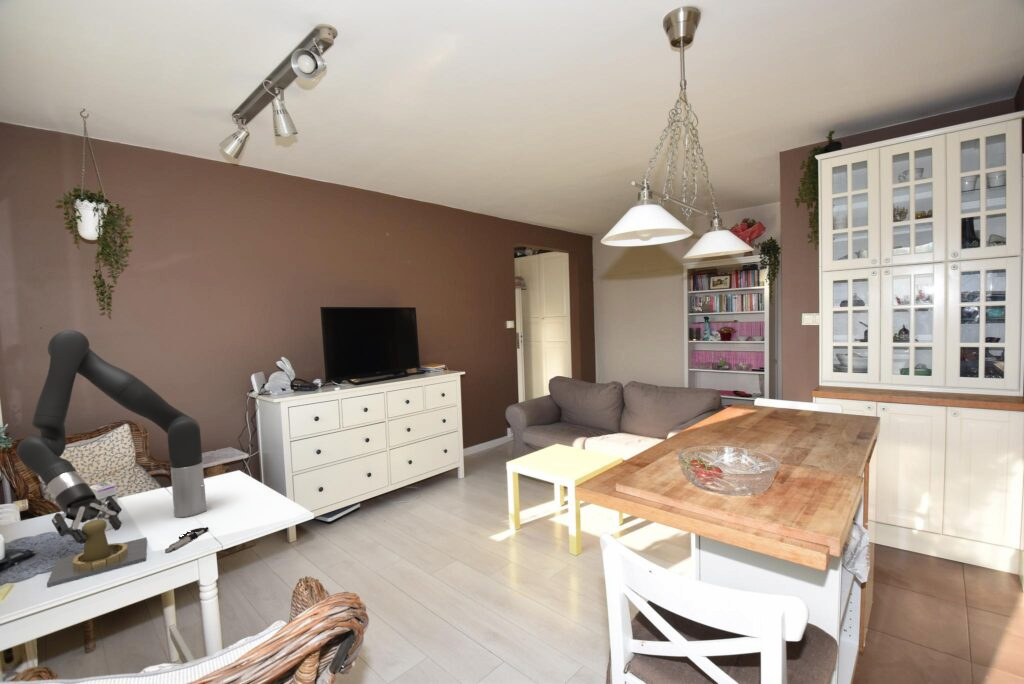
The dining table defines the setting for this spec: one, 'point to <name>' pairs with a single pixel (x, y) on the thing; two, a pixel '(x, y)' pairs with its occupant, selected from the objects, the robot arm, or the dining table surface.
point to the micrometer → (186, 539)
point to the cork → (95, 541)
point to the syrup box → (105, 496)
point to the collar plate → (98, 562)
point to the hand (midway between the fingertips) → (101, 534)
